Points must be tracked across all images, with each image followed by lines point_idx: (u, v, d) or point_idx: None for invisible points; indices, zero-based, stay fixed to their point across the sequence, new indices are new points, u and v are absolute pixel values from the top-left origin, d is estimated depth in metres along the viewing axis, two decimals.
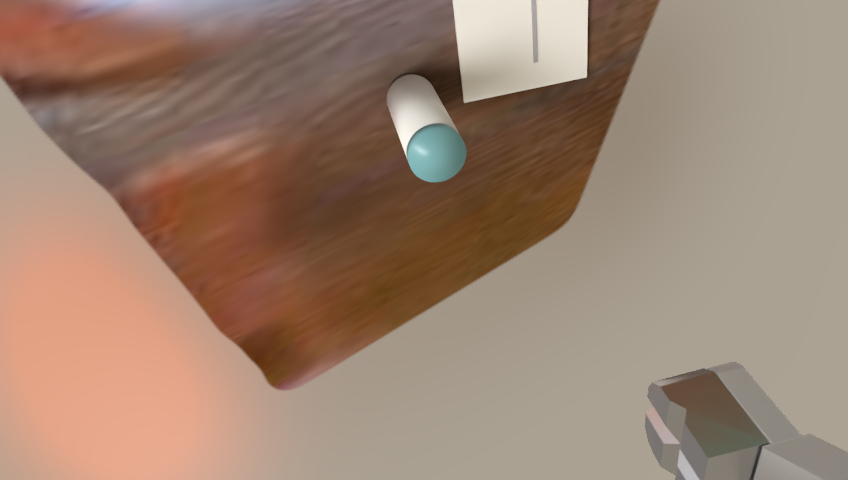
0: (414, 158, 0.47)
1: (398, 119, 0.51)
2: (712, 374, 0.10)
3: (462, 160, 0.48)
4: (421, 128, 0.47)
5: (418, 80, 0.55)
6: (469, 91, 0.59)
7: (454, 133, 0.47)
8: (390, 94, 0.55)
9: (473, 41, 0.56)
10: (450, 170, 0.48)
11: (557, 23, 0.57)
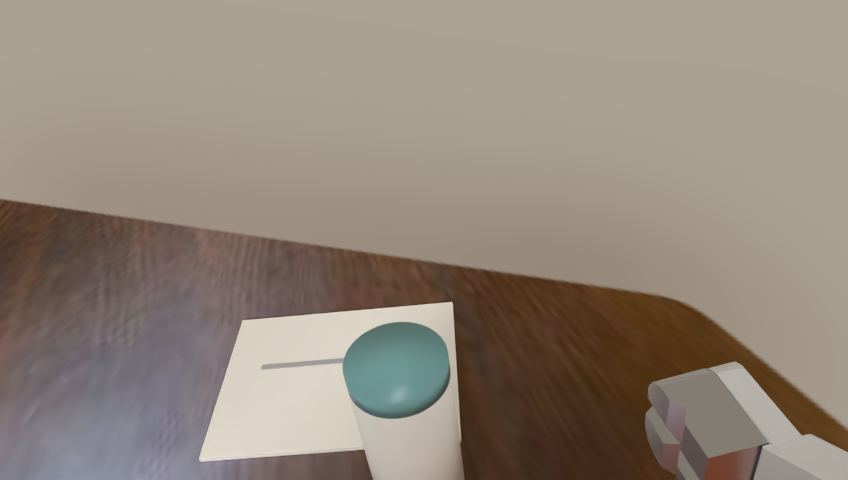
0: (388, 393, 0.25)
1: (388, 479, 0.28)
2: (712, 374, 0.10)
3: (414, 326, 0.28)
4: None
5: None
6: None
7: (361, 337, 0.28)
8: None
9: None
10: (429, 341, 0.27)
11: None
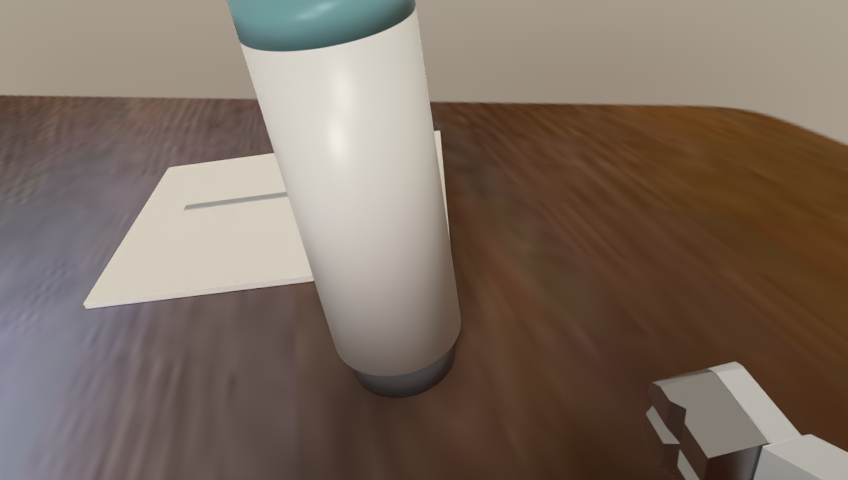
0: None
1: (321, 218, 0.17)
2: (712, 374, 0.10)
3: None
4: None
5: None
6: None
7: None
8: (352, 347, 0.20)
9: None
10: None
11: None
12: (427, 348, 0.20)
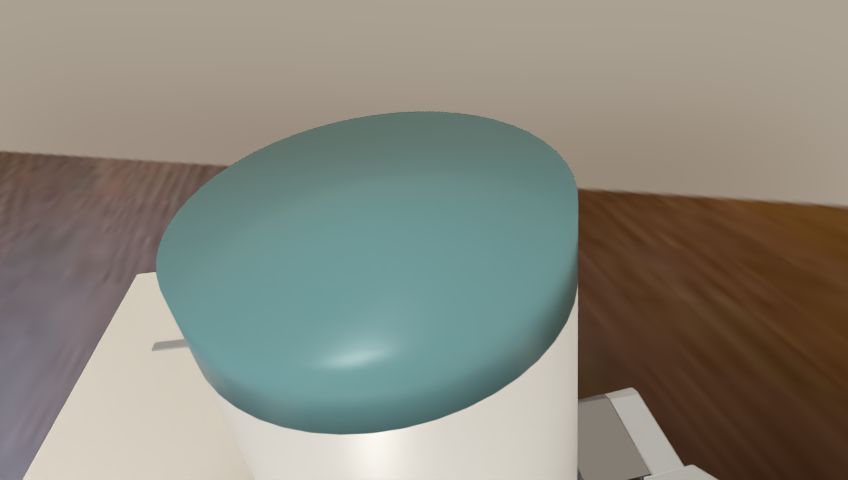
0: (327, 316, 0.05)
1: None
2: (606, 401, 0.10)
3: (435, 118, 0.08)
4: None
5: None
6: None
7: (253, 156, 0.08)
8: None
9: None
10: (491, 148, 0.07)
11: None
12: None
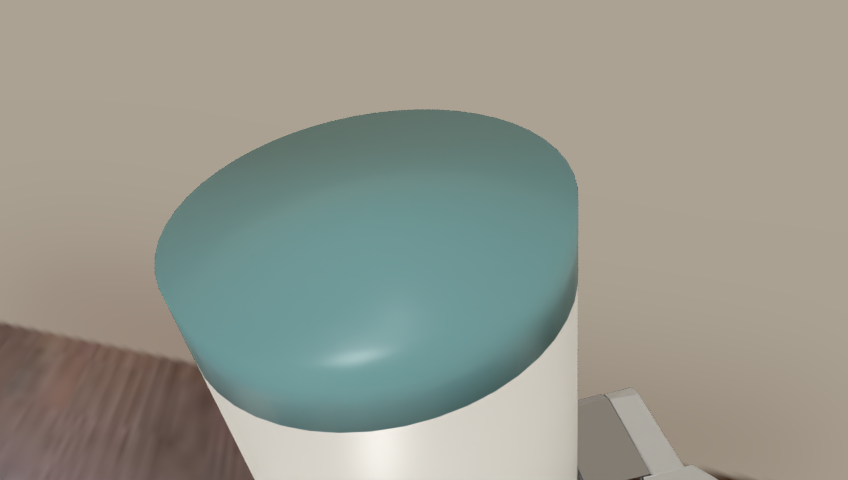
0: (326, 314, 0.05)
1: None
2: (606, 400, 0.10)
3: (435, 116, 0.08)
4: None
5: None
6: None
7: (253, 154, 0.08)
8: None
9: None
10: (491, 146, 0.07)
11: None
12: None
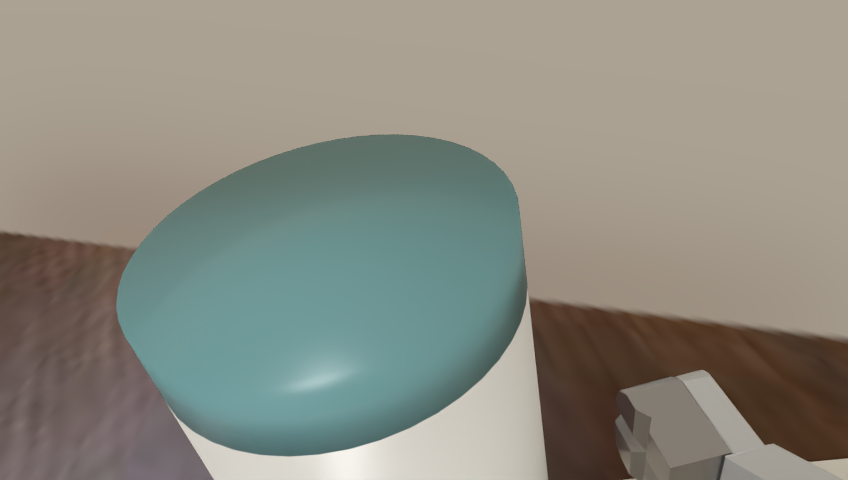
0: (270, 344, 0.06)
1: None
2: (678, 383, 0.10)
3: (393, 141, 0.08)
4: None
5: None
6: None
7: (219, 184, 0.08)
8: None
9: None
10: (443, 171, 0.08)
11: None
12: None
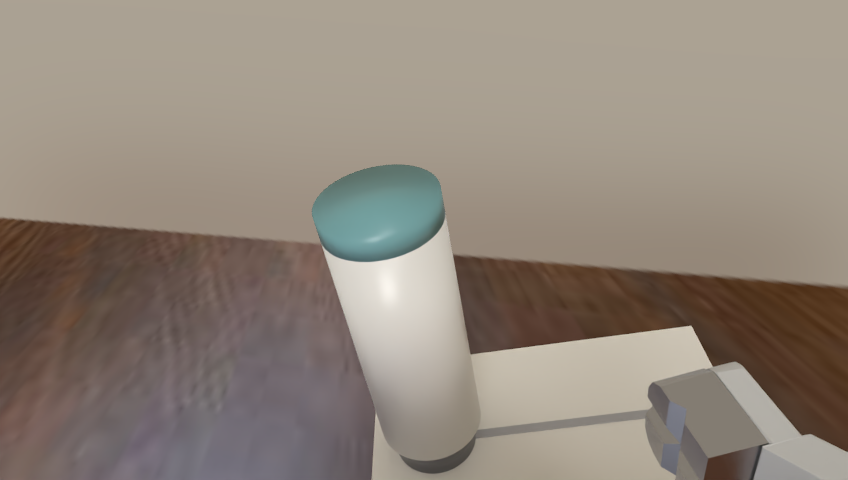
0: (366, 228, 0.20)
1: (378, 358, 0.23)
2: (712, 374, 0.10)
3: (400, 167, 0.23)
4: (324, 242, 0.21)
5: None
6: None
7: (336, 182, 0.23)
8: (398, 440, 0.26)
9: None
10: (417, 178, 0.22)
11: (590, 382, 0.30)
12: (455, 440, 0.26)
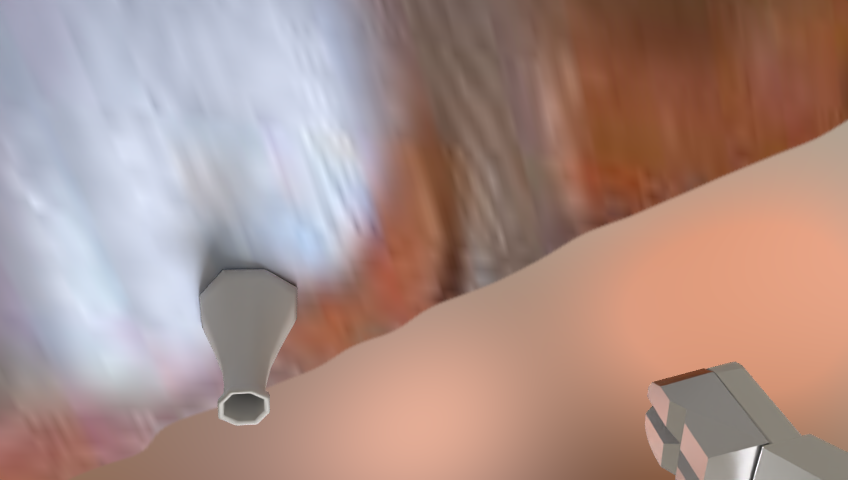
0: None
1: None
2: (712, 374, 0.10)
3: None
4: None
5: None
6: None
7: None
8: None
9: None
10: None
11: None
12: None
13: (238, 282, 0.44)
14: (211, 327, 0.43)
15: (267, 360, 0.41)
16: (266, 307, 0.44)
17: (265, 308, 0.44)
